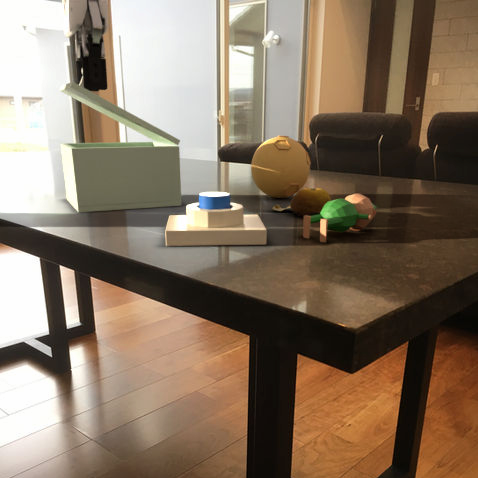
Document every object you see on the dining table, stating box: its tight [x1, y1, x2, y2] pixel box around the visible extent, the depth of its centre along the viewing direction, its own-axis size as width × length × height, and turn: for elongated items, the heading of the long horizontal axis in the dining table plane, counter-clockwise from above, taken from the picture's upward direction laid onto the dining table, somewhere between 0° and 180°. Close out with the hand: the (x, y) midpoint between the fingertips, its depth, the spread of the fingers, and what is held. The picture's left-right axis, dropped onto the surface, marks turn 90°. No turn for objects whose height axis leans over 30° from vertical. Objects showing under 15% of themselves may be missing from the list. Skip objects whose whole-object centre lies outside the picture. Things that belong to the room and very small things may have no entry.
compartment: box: [60, 141, 182, 213], centre depth 81 cm, size 16×13×9 cm
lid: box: [59, 70, 181, 146], centre depth 78 cm, size 16×13×5 cm
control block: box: [164, 202, 268, 247], centre depth 60 cm, size 11×9×4 cm
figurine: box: [302, 193, 378, 244], centre depth 62 cm, size 4×7×12 cm
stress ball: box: [250, 135, 312, 199], centre depth 87 cm, size 10×10×10 cm
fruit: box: [271, 187, 332, 218], centre depth 74 cm, size 8×8×4 cm
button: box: [198, 191, 231, 210], centre depth 59 cm, size 4×4×2 cm
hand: (92, 88), depth 76 cm, fingers closed on lid, 5 cm apart
